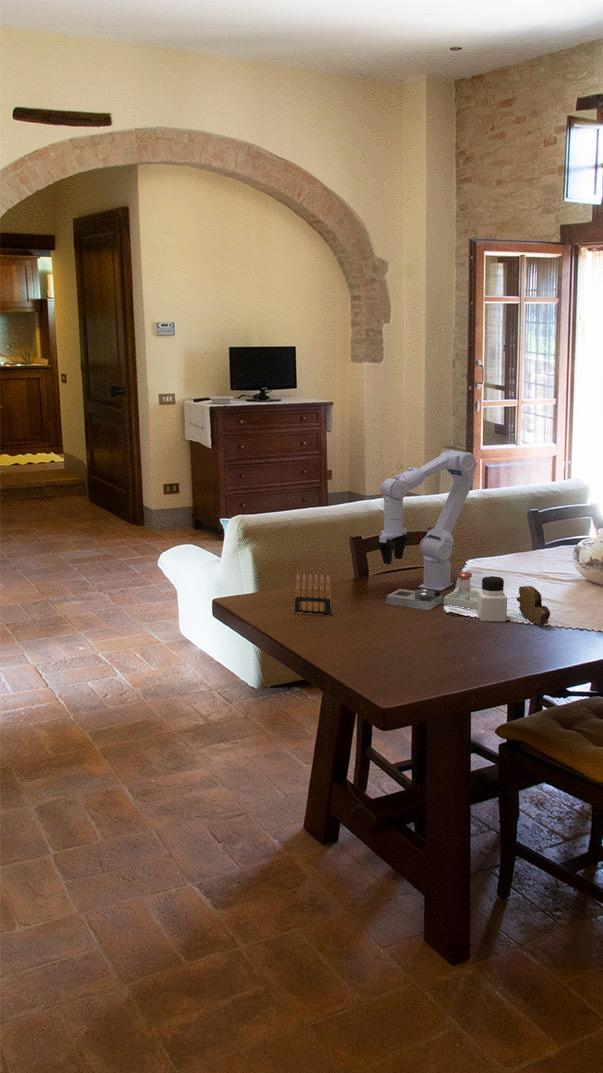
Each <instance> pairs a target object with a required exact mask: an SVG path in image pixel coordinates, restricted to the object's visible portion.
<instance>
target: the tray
mask: <svg viewBox="0 0 603 1073" xmlns="http://www.w3.org/2000/svg"><path fill="white" fill-rule="evenodd" d="M445 605H452V606H459V607H464V608H470V609H469V610H471V609H476V610H475V611H477V608H478V591H476V590H470V601H469V600H462V599H458V589H456V590H455V591H453V592H450V593H448V594H447V595H445V596H444V597H443V606H445ZM445 607H446V606H445ZM464 608H463V609H464Z"/></svg>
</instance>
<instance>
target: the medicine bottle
mask: <svg viewBox="0 0 603 1073" xmlns="http://www.w3.org/2000/svg"><path fill="white" fill-rule="evenodd" d="M504 581H505V580H504V579H503V577H500V576H498V575H487V576H486V575H485V576H484V577H482V579H481V590H478V591H477V592H478V608H477V610H476V611H477V612H476V613H477V617H478V618H479V620H480V621H481V622H482V623H483V622H502V623H504V622H507V612H508V608H507V607H508V597H507V596H506V594H505V592H504V587H505V585H504V584H505V582H504Z"/></svg>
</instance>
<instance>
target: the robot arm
mask: <svg viewBox="0 0 603 1073" xmlns="http://www.w3.org/2000/svg"><path fill="white" fill-rule="evenodd" d="M477 466H478V463H477V460H476V457H475V456H474V454H473V453H472V452H469V451H468V452H467V451H466V452H465V451H459V450H456V449H453V448H451V449H447V450H446V451H443V452H441V453H440V455H439V456H438V457H435V458H434V459H432V460H430V461H429V462H428V463H425V464H424V465H423V466H421V467H419V468H418V467H411V466H410V467H408V468H407V470H406V471H404V472H402V473H400V474H396V475H395V477H393V478H391V477H390V478H387V479H384V481H383V483H382V484H381V487H380V488H379V490H380V493H381V494H382V498H383V530H381V531H380V534H381V535H379V536H378V537H379V539H378V540H377V541H376V545H377V546H378V548H379V550H380V553H381V557H382V561H383V564H384V565H391V564H392V560H393V556H394V559H398V560H402V559H403V556H404V553H405V552H404V551H405V548H406V547H407V546H406V545H407V543H408V541H409V539H410V536H409V535H407V528H406V527H403V525H404V524H403V523H404V522H403V521H404V519H403V518H404V516H403V515H404V514H403V513H404V498H405V497H406V495H408V494H407V493H408V492H409V491H411V490H413V489H415V488H417V487H419V486H421V485H423V484H424V481H425V479H426V478H428V477H430V476H431V475H434V474H437V473H439V472H441V471H443V470H446V471H447V473H449V475H450V476H451V478H452V481H453V484H452V486H451V489H450V491H449V493H448V495H447V498H446V500H445V503H444V505H443V507H442V510H441V512H440V514H439V517H438V519H437V521H436V523H435V526H434V527H433V528H430V530H428V531H427V532H426V533H427V534H426V535H425V536H424V538H422V539H421V541H420V543H419V551H420V553H421V554H422V555H423V556H422V557H423V558H422V559H423V583H422V584H420V585H419V586H418V588H419V589H429V590H433V591H438V592H441V591H443V590H445V589H447V588H449V587H451V586H452V585H454V582H451V576H452V575H451V570H452V569H451V568H452V565H451V562H450V560H449V559H450V557H451V555H452V553H453V545H454V543H455V540H454V538H453V536H452V533H453V530H454V529H455V525H456V523H457V521H458V518H459V516H460V514H461V511H462V510H463V507H464V505H465V502H466V500H467V497H468V495H469V493H470V491H471V488H472V485H473V484H474V483H473V482H474V475H475V474H474V472H475V471H476V468H477Z"/></svg>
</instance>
